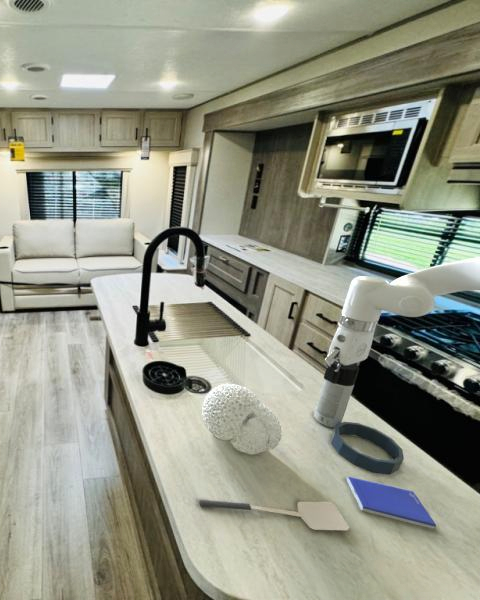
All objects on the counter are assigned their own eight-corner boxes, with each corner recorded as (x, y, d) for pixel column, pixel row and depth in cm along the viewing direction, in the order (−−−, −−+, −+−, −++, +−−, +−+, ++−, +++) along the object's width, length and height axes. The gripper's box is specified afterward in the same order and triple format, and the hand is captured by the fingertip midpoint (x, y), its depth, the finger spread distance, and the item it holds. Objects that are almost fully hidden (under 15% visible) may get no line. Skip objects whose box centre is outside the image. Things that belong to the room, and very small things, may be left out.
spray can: (345, 429, 91) (366, 371, 84) (320, 427, 92) (338, 369, 85) (332, 413, 97) (350, 358, 90) (308, 411, 99) (324, 357, 91)
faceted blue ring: (351, 427, 92) (355, 416, 91) (410, 464, 80) (415, 452, 79) (319, 440, 88) (323, 429, 86) (376, 481, 76) (382, 469, 74)
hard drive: (413, 490, 72) (348, 475, 76) (436, 525, 65) (363, 506, 69) (410, 495, 72) (346, 480, 76) (434, 530, 65) (361, 511, 69)
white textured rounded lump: (188, 419, 85) (228, 374, 82) (192, 407, 101) (226, 369, 98) (254, 480, 77) (301, 432, 75) (248, 457, 93) (286, 417, 91)
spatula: (348, 534, 65) (350, 530, 64) (202, 517, 69) (203, 512, 68) (331, 506, 71) (332, 501, 70) (196, 491, 75) (197, 487, 74)
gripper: (351, 334, 77) (331, 393, 84) (394, 322, 83) (372, 378, 89) (320, 322, 84) (304, 377, 90) (362, 312, 89) (344, 365, 96)
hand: (338, 377), depth 90 cm, fingers closed on spray can, 6 cm apart
